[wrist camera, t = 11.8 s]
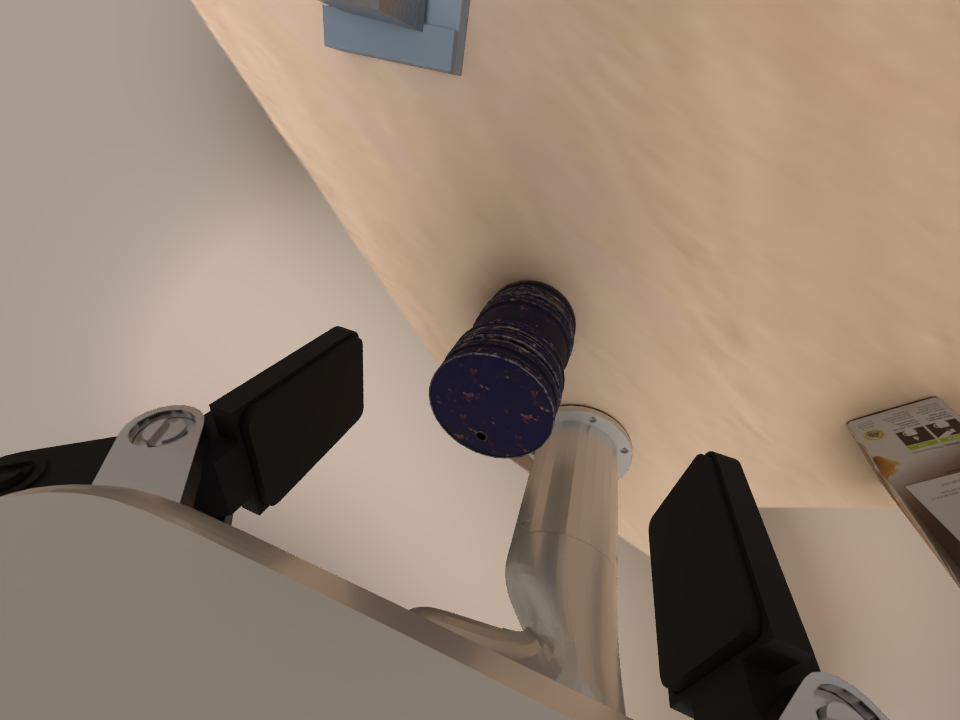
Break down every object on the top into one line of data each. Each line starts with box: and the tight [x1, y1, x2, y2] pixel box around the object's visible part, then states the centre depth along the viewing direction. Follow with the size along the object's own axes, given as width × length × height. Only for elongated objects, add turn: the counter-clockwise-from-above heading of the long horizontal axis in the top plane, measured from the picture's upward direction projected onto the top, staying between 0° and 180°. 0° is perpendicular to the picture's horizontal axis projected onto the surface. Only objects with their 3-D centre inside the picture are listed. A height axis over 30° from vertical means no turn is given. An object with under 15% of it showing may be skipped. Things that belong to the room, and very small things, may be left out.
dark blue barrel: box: [429, 280, 576, 458], centre depth 32 cm, size 10×10×15 cm
